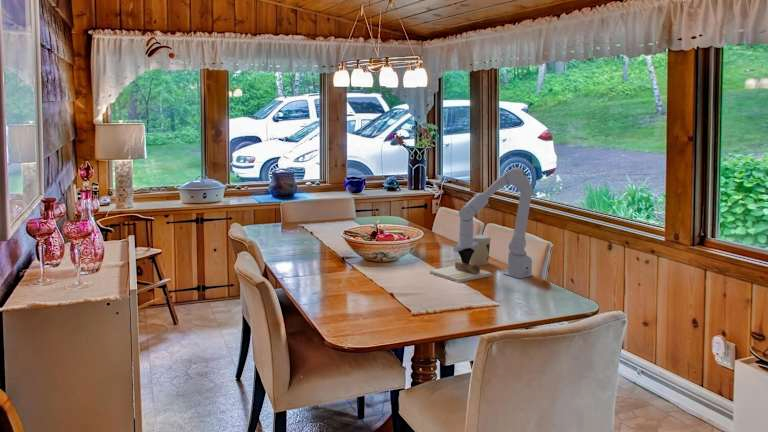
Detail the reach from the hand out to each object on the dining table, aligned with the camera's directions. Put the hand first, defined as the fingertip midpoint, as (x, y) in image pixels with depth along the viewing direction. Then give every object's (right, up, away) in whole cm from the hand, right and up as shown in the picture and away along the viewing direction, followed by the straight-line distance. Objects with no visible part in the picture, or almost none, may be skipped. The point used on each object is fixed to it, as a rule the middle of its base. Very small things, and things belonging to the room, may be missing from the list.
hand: (465, 266), depth 287 cm
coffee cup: (+8, 0, +15) cm, 17 cm away
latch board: (-3, -3, -5) cm, 6 cm away
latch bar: (0, -1, -5) cm, 5 cm away
